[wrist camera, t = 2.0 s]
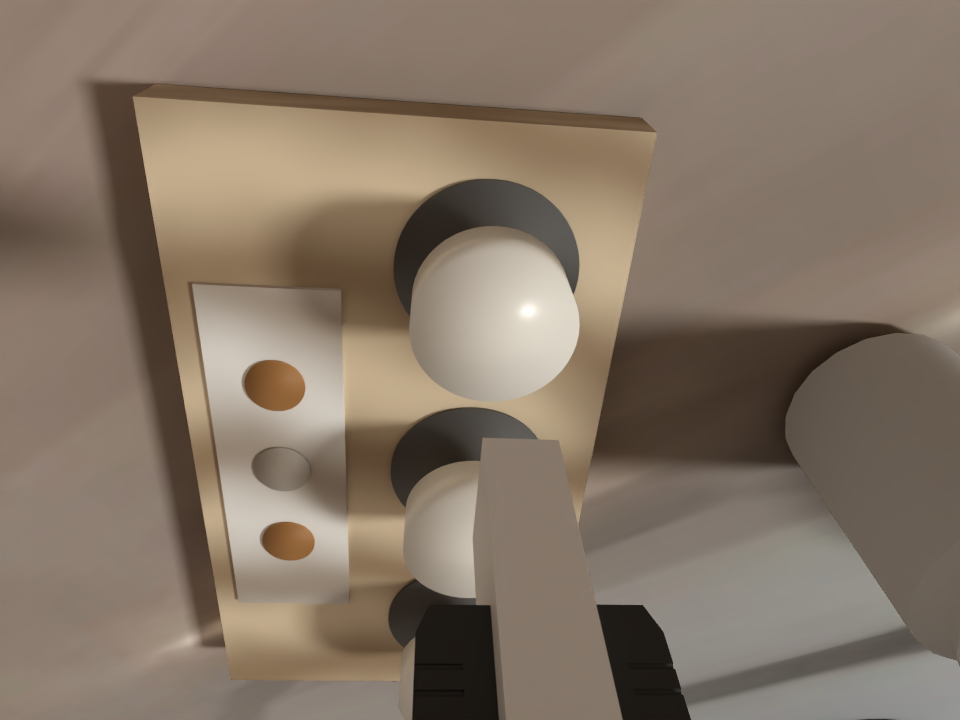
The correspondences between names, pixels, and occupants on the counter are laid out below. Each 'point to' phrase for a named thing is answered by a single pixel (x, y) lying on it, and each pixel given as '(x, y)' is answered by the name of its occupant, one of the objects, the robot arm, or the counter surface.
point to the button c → (492, 314)
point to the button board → (358, 336)
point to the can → (891, 470)
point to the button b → (443, 529)
